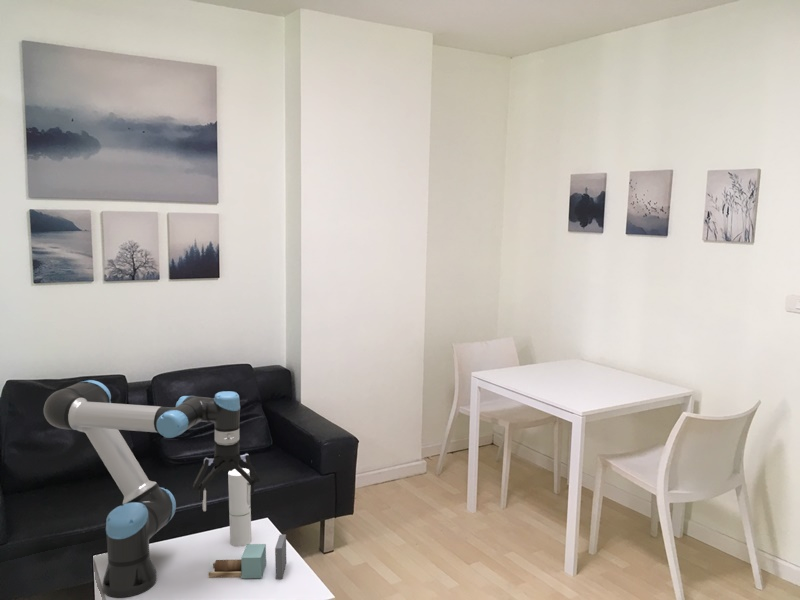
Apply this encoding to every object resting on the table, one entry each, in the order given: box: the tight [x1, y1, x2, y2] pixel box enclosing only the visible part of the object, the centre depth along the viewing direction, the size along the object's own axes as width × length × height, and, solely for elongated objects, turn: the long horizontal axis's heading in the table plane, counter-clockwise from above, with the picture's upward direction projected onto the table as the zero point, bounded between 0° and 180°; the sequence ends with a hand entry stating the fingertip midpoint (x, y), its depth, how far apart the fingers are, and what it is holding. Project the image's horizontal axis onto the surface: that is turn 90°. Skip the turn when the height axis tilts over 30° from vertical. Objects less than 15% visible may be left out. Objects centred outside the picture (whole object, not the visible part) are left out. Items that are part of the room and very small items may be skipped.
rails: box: [207, 562, 242, 579], centre depth 204 cm, size 10×6×2 cm, turn 92°
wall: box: [274, 534, 287, 580], centre depth 204 cm, size 2×9×10 cm, turn 2°
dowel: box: [213, 558, 242, 573], centre depth 204 cm, size 8×4×4 cm, turn 92°
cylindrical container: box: [227, 467, 252, 547], centre depth 222 cm, size 7×7×25 cm
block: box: [241, 543, 267, 579], centre depth 204 cm, size 6×9×7 cm
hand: (226, 506), depth 204 cm, fingers open, 13 cm apart
